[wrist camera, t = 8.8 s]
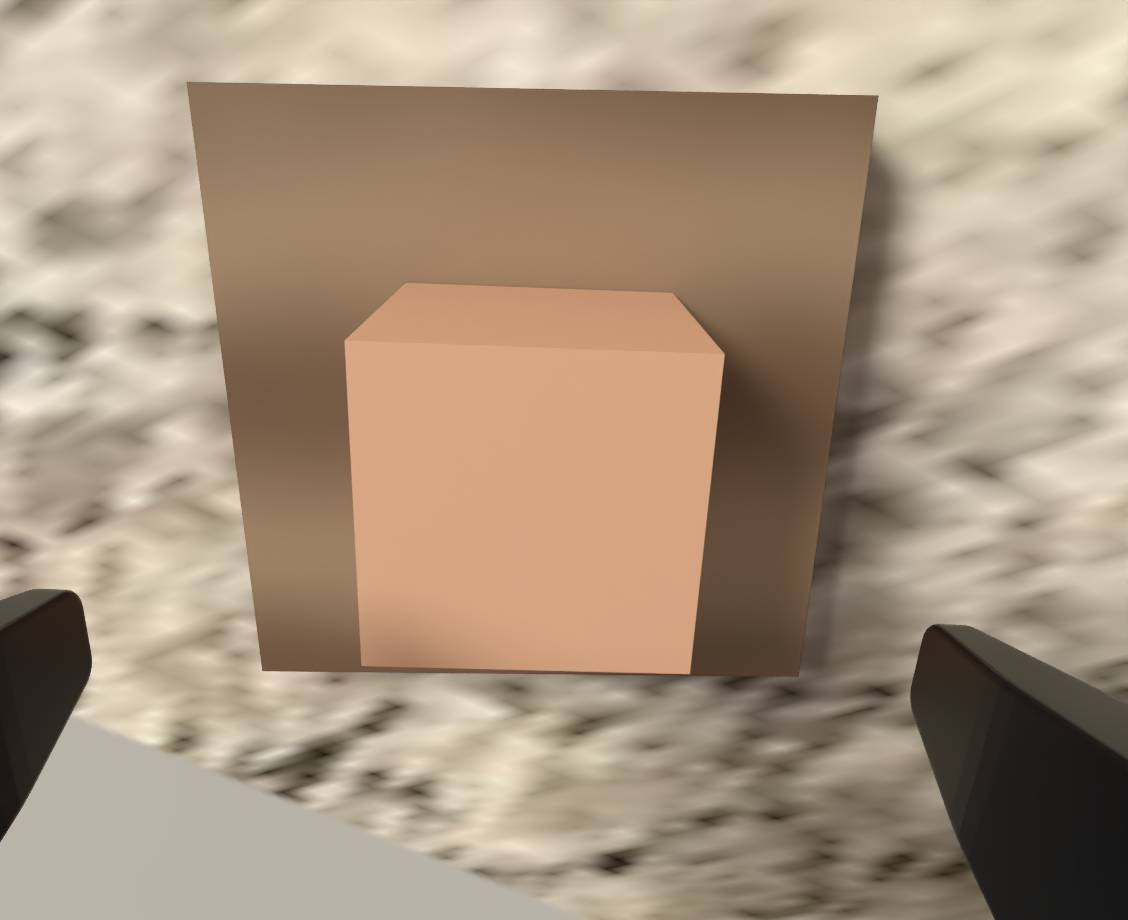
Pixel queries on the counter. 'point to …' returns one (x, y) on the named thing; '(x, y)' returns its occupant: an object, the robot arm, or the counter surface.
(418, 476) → the cube
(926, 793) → the counter surface
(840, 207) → the base slab
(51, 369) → the counter surface
